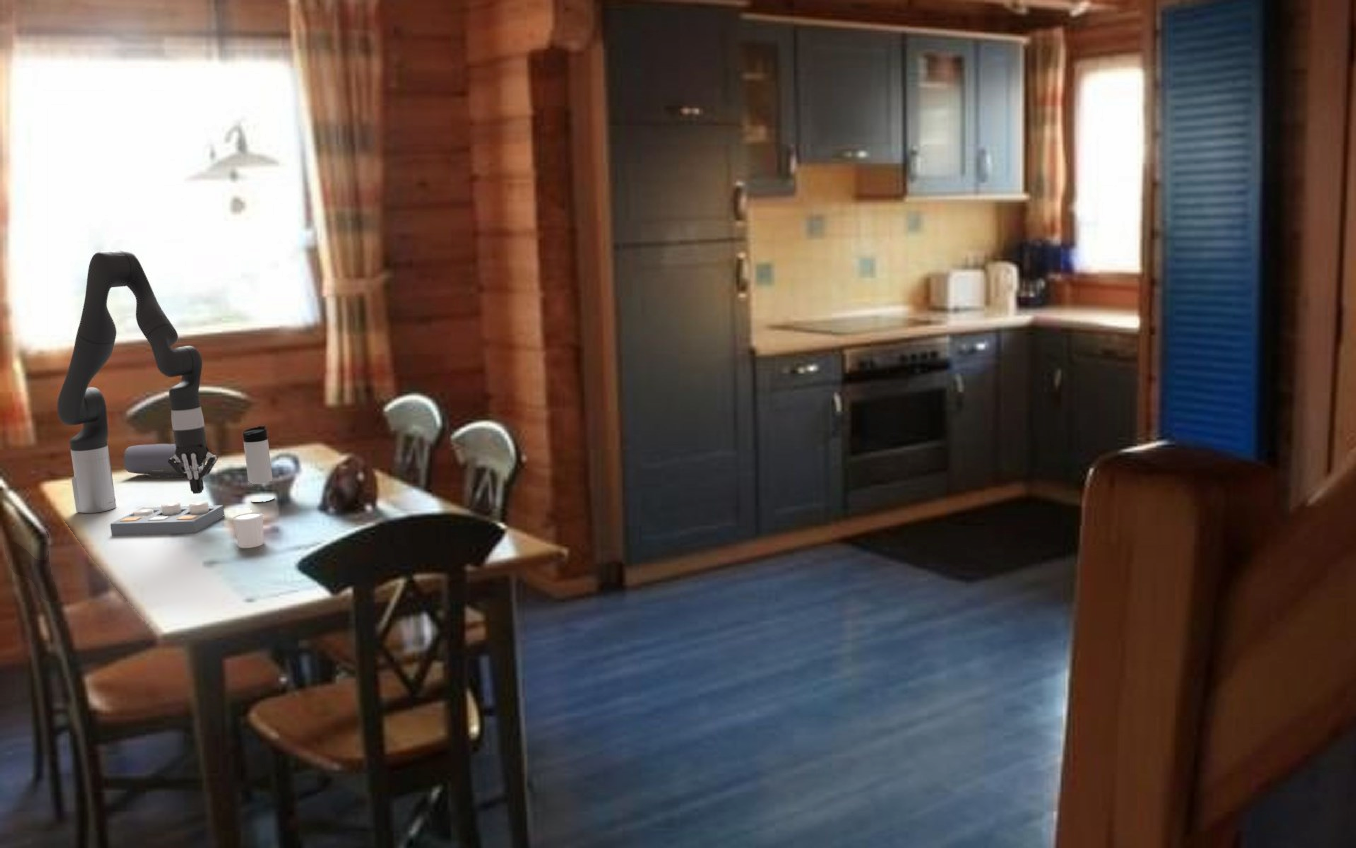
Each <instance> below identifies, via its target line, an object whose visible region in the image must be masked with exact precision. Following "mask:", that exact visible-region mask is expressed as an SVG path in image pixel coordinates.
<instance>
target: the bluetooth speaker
mask: <svg viewBox="0 0 1356 848" xmlns="http://www.w3.org/2000/svg"><path fill="white" fill-rule="evenodd" d="M175 450H176V446H175V443H154V444H153V443H152V444H151V443H150V444H139V445H137V444H136V445H131V446H128V447H127V448H126V449H125V451H124V453H123V454H124V455H123V460H122V462H123V467H124V469H125V470H126V472H128V473H131V474H138V475H139V474H140V475H149V477H150V478H179V477H180V478H182V477H181V476H180V475H179V474H178V472H177V471H176V470H175V469H174V468H173V467H172V466H171V465H170V464H169V463H168V460H169V459H170V458H172V457H173V456H174V455H175ZM206 459H207V458H206ZM206 459H205V461H204V462H203V468H204V467H205V465H206V463H207V461H206ZM180 462H181V461H180ZM181 463H182V462H181ZM182 464H183V463H182ZM183 466H184V464H183Z"/></svg>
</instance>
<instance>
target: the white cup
mask: <svg viewBox="0 0 1356 848" xmlns="http://www.w3.org/2000/svg"><path fill="white" fill-rule="evenodd" d="M232 523H233V527H234V531H235V535H236V541H237V545H238V547H239V548H241V549H249V548H257V547H261V546H262V545H264V514H263V513H262V512H248V513H243V514H238V515H235V516H233V517H232Z"/></svg>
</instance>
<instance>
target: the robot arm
mask: <svg viewBox="0 0 1356 848" xmlns="http://www.w3.org/2000/svg"><path fill="white" fill-rule="evenodd" d="M119 287H120V288H121V287H127V288H128V289H129V290H130V291H131V293H133V295H134V297H135V303H136V305H135V306H136V308H135V319H136V323H137V325H138V328H139V330H140V331H141V333H142V335H143V336H144V337H145V338H146V340H147V341H148V343H149V345H150V347H151V350H152V354H153V357H154V360H155V364H156V367H157V369H158V371H159V372H160V373H161V374H162V375H163V376H165V377H168V378H173V377H175V378H176V377H180V376H181V380H180V382H179V383H178V384H176V385H173V386H172V387H170V388H169V390H168V398H169V404H170V408H171V413H170V414H171V415H170V416H171V417H170V418H171V426H172V433H173V440H174V444H175V446H176V450H175V455H174V456H173V457H172V458H170V459H169V460H168V463H169V464H170V465H171V466H172V467H173V468H174V469H175V470H176V471H177V472H178V474H179V475H180V476H181V477H180V478H183V479H184V478H185V479H188V482H189V486H190V487H189V488H190V491H191V492H192V494H195V495H197V494H198V495H199V494H201V493H203V491H204V488H205V487H204V479H203V478H204V477H205V476H207V475H209V474H210V472H211V471H212V470H213V468H214V466H215V464H216V463H217V461H218V459H219V456H218V455H217V454H213V453H211V452H210V448H209V447H208V446H207V435H206V429H205V428H206V427H205V419H204V414H203V410H202V407H201V406H202V405H201V399H200V391H199V390H200V383H201V376H202V370H203V359H202V355H201V353H200V351H199V350H198V349H197V348H196V347H194V346H192V345H184V346H179V347H173V348H172V346H173V345H174V344H176V343H177V341H178V338H179V335H178V332H177V330H176V329H175V327H174V326H173V324H172V323H171V321H170V320H169V318H168V317H167V315H166V314H165V312H164V310H163V309H162V307H161V306H160V303H159V301H158V300H157V298H156V295H155V293H154V291H153V288H152V286H151V284H150V281H149V279H148V277H147V275H146V273H145V270H144V268H143V266H142V265H141V263H140V261H139V259H138V257H137V256H136V255H135V254H134V253H133V252H132V251H129V250H124V249H123V250H122V249H121V250H105V251H98V252H96V253H94V254H93V255H92V257H91V258H90V261H89V264H88V269H87V278H86V288H85V297H84V303H83V306H82V312H81V316H80V321H79V324H78V328H77V333H76V336H75V340H74V347H73V350H72V355H71V358H70V362H69V367H68V371H67V373H66V376H65V378H64V381H63V384H62V386H61V389H60V391H59V395H58V398H57V406H56V409H57V410H56V411H57V416H58V418H59V420H60V422H62V423H63V424H64V425H67V426H77V425H82V427H81V430H80V431H79V432H78V433H76V435H74V436H73V437H71V439H70V440H69V449H70V455H71V460H72V461H71V463H72V468H73V475H74V476H73V477H71V485H72V491H73V492H72V493H73V500H74V505H75V506H74V507H75V512H76V513H82V514H93V513H101V512H106V511H110V510H113V509H115V508H116V507H117V502H116V495H115V494H116V493H115V487H114V481H113V474H112V467H111V458H110V453H109V446H108V437H109V426H108V425H109V424H108V415H107V414H108V413H107V411H108V410H107V405H106V400H105V396H104V395H103V392H102V391H101V390H100V389H99V388H97V387H93V386H92V387H91V386H90V387H89V385H90V383H91V381H92V380H93V379H94V377H95V376H96V375H97V374H98V372H100V370H101V369H102V368H103V367H104V366H105V364H107V362H108V360H109V359H110V357H112V353H113V350H114V347H115V346H114V345H115V343H116V338H117V328H116V324H115V322H114V319H113V318H112V315H111V313H110V311H109V309H108V298H109V293H110V290H111V288H119ZM205 459H206V463H205V466H204V468H203V462H204V461H205ZM180 461H181V462H182V463H183V464H184V466H183V464H182V463H181V462H180Z"/></svg>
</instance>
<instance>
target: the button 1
mask: <svg viewBox="0 0 1356 848" xmlns="http://www.w3.org/2000/svg"><path fill="white" fill-rule="evenodd" d="M137 510H138V511H137ZM137 510H136V511H133V512H134V516H149V515H151V514H153V513H154V511H153V509H143V510H139V509H137Z"/></svg>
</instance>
